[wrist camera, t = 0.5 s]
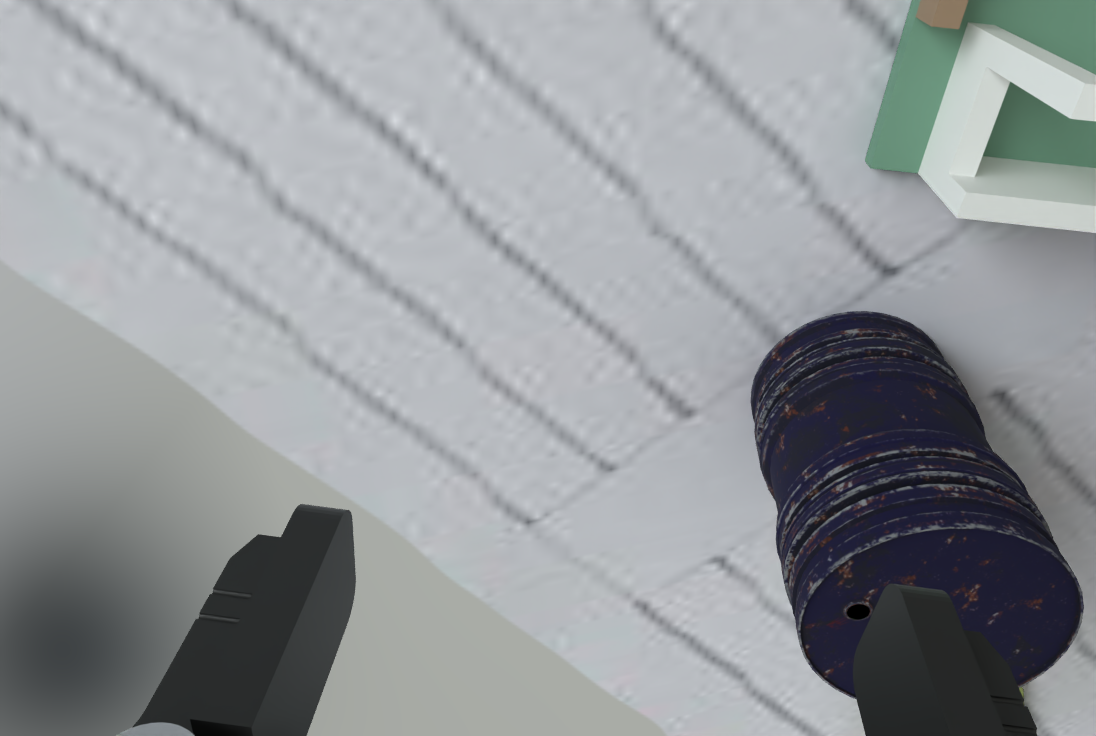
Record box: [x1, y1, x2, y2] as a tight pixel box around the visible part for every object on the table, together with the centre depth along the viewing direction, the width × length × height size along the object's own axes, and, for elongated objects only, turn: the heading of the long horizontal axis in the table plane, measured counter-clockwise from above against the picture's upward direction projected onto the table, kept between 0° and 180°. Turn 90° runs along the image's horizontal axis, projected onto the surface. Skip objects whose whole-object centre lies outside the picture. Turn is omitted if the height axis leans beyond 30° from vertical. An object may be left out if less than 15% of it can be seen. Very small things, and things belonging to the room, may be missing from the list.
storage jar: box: [751, 311, 1084, 699], centre depth 36 cm, size 10×10×15 cm
